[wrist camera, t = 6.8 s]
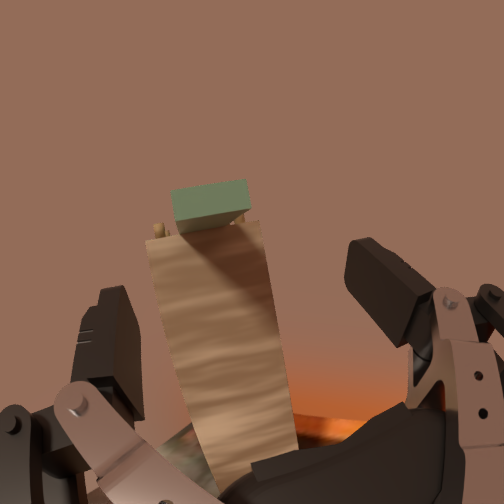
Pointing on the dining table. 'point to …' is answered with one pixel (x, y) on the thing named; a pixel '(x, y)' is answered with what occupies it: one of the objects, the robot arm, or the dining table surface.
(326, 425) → the dining table surface
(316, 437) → the dining table surface
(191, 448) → the dining table surface
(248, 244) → the stand
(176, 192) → the grey-green rectangular bar
